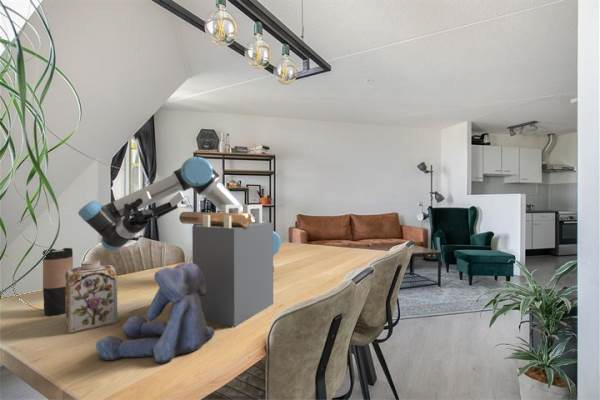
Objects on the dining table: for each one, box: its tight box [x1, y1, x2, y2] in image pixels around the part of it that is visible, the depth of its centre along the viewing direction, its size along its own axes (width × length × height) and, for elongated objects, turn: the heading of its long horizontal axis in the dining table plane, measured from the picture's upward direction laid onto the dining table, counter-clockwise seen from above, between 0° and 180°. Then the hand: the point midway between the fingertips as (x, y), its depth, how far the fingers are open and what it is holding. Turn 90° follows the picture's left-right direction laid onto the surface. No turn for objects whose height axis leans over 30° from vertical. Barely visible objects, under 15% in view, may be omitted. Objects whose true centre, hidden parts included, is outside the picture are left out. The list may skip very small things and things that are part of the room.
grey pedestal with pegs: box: [191, 204, 274, 328], centre depth 100 cm, size 21×16×34 cm
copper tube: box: [179, 211, 251, 227], centre depth 97 cm, size 26×4×4 cm, turn 63°
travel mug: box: [42, 247, 74, 317], centre depth 99 cm, size 8×8×20 cm
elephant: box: [95, 261, 215, 364], centre depth 78 cm, size 21×25×21 cm
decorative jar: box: [65, 260, 119, 334], centre depth 90 cm, size 12×12×18 cm
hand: (166, 194), depth 105 cm, fingers open, 13 cm apart
